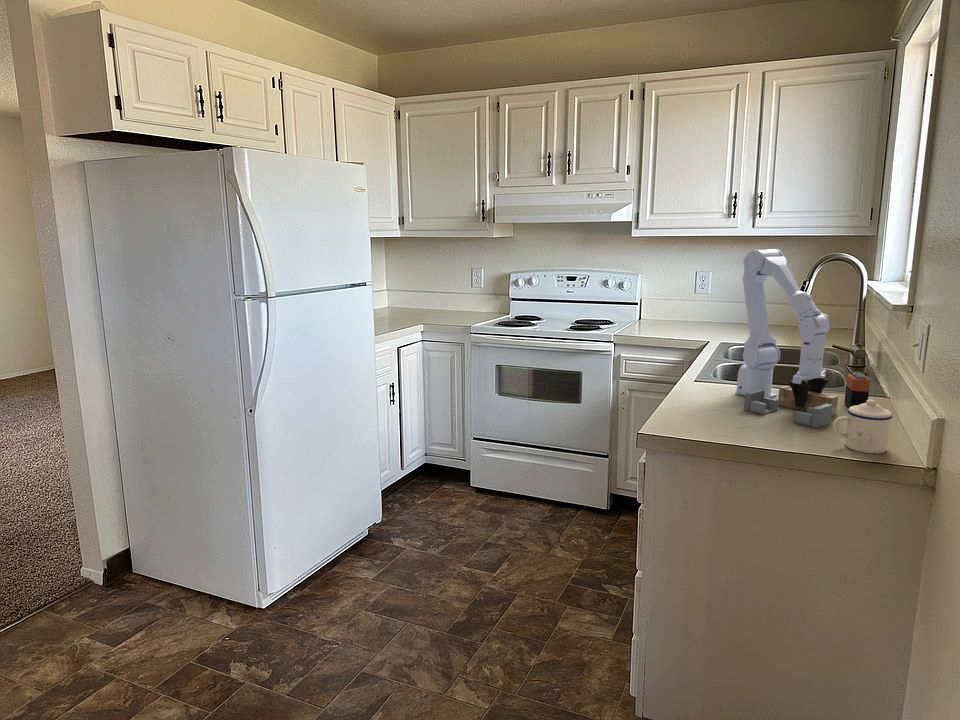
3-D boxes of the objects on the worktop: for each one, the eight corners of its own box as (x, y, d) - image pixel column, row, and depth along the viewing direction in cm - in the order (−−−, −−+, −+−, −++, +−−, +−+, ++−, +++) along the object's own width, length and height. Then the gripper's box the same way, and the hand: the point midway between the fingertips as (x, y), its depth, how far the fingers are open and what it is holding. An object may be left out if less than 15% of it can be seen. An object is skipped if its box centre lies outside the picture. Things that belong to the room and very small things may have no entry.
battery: (850, 410, 186) (854, 375, 184) (843, 403, 192) (847, 370, 190) (867, 411, 185) (871, 376, 183) (860, 404, 191) (864, 371, 189)
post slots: (743, 410, 186) (745, 392, 185) (757, 405, 191) (759, 388, 190) (816, 428, 170) (818, 409, 169) (830, 422, 174) (832, 404, 173)
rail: (777, 404, 192) (779, 387, 191) (783, 402, 194) (785, 385, 193) (830, 416, 180) (832, 398, 179) (836, 414, 182) (838, 396, 181)
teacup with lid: (879, 442, 159) (885, 396, 157) (894, 455, 151) (900, 406, 148) (825, 439, 162) (830, 393, 159) (837, 452, 153) (842, 403, 151)
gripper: (812, 363, 176) (807, 412, 179) (838, 356, 185) (833, 403, 188) (787, 359, 182) (782, 406, 185) (813, 352, 190) (808, 397, 193)
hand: (806, 404), depth 187 cm, fingers open, 7 cm apart
